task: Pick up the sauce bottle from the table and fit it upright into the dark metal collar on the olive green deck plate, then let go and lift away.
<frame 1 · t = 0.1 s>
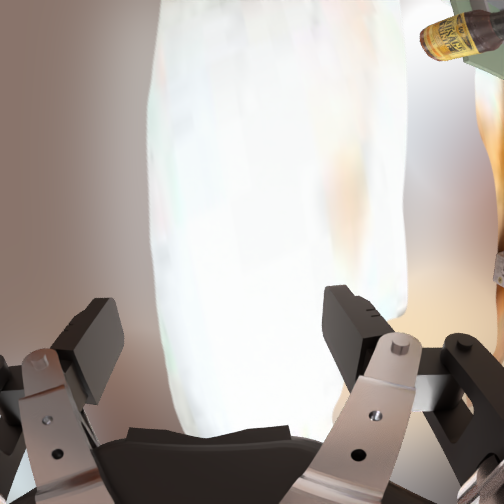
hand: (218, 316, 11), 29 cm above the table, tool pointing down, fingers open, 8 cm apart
sauce bottle: (432, 46, 33), on the table
deck plate: (486, 19, 30), on the table
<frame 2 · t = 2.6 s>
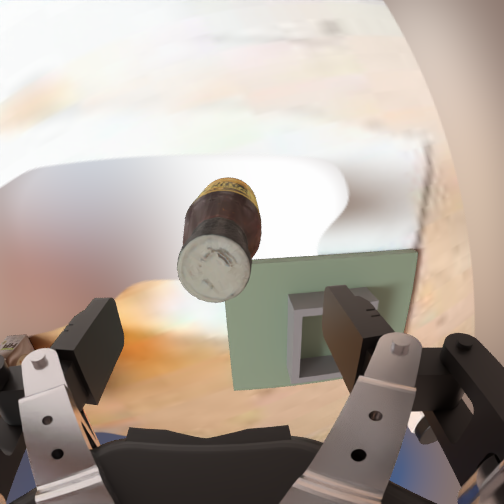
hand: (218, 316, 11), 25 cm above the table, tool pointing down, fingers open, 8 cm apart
coffee box: (28, 355, 40), on the table
sauce bottle: (226, 203, 35), on the table
deck plate: (322, 323, 41), on the table
jar: (411, 386, 48), on the table
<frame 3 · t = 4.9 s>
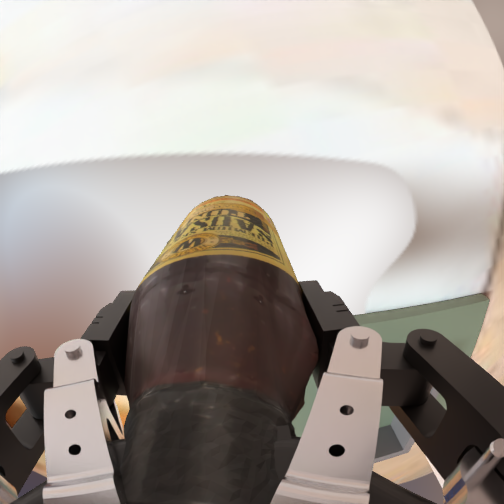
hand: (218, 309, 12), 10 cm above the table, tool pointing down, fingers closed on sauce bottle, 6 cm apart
sauce bottle: (225, 237, 21), on the table, touching gripper
deck plate: (360, 395, 27), on the table
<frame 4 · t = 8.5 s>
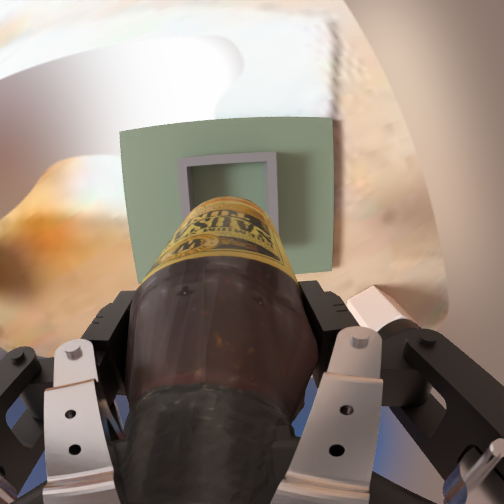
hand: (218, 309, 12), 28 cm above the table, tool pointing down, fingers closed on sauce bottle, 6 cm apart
sauce bottle: (225, 237, 21), point 18 cm above the table, touching gripper
deck plate: (229, 199, 38), on the table
jar: (366, 310, 45), on the table
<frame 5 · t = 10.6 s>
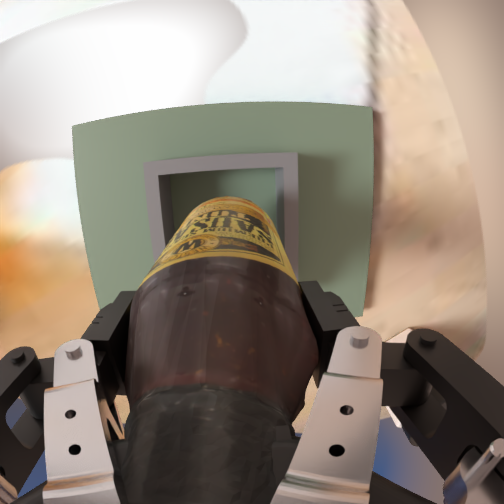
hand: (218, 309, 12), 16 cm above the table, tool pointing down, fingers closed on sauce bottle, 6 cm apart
sauce bottle: (225, 238, 21), point 6 cm above the table, touching gripper
deck plate: (225, 221, 26), on the table
jar: (397, 356, 34), on the table
when the fingers open (12 cm above the table, at t = 12.3 s): sauce bottle drops 1 cm, resting on deck plate.
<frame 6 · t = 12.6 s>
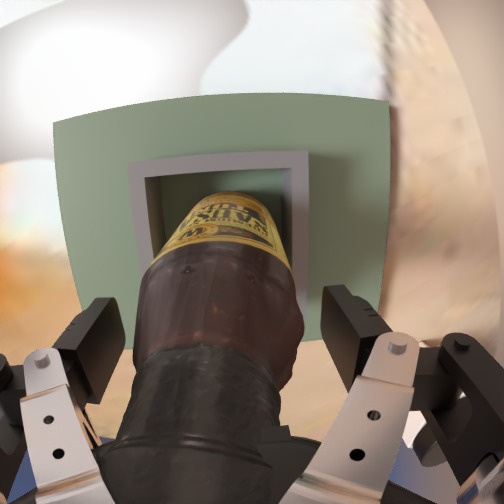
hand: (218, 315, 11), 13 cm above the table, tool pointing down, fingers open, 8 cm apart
sauce bottle: (227, 230, 22), point 1 cm above the table, touching deck plate
deck plate: (223, 228, 23), on the table
jar: (408, 370, 30), on the table
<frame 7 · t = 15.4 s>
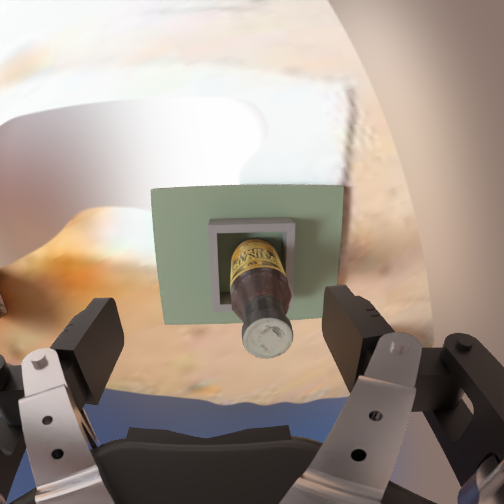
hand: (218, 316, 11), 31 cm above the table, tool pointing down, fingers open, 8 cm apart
sauce bottle: (252, 257, 42), point 1 cm above the table, touching deck plate
deck plate: (249, 255, 43), on the table
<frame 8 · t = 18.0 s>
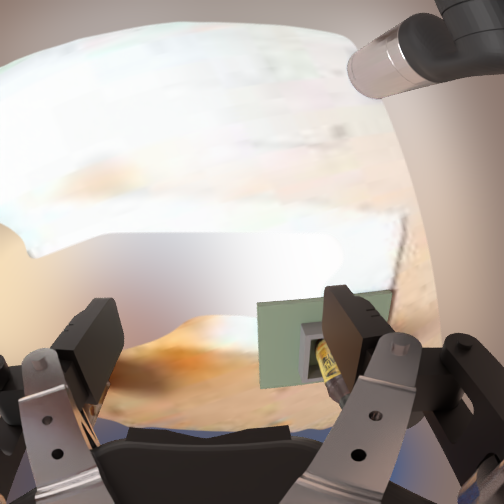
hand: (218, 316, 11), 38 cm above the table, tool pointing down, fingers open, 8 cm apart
coffee box: (92, 370, 57), on the table
sauce bottle: (327, 343, 56), point 1 cm above the table, touching deck plate
deck plate: (323, 341, 58), on the table
jar: (391, 386, 65), on the table
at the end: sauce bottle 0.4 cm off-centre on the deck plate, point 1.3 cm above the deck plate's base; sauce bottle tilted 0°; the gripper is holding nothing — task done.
